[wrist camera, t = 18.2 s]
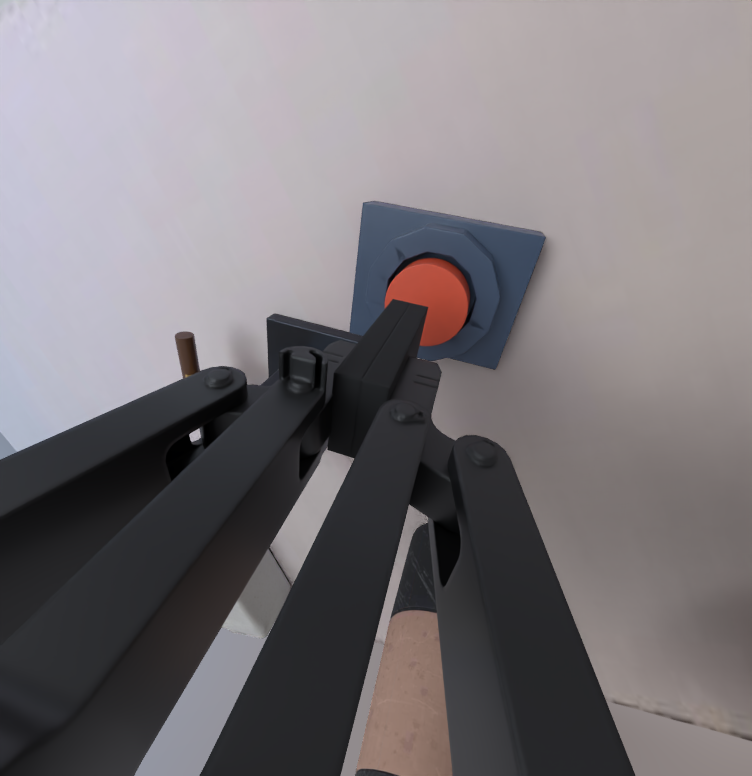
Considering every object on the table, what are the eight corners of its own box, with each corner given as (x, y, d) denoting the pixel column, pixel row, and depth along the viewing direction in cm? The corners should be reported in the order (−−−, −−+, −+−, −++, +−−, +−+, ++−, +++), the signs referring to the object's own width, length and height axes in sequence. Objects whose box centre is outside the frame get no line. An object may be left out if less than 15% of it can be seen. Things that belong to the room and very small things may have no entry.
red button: (480, 267, 18) (479, 274, 17) (458, 342, 20) (455, 355, 19) (399, 250, 19) (391, 255, 17) (386, 325, 21) (378, 335, 20)
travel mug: (402, 517, 35) (321, 816, 19) (480, 521, 32) (466, 877, 16) (418, 566, 38) (361, 857, 22) (490, 573, 35) (488, 913, 19)
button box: (541, 231, 20) (550, 242, 16) (495, 355, 24) (495, 383, 21) (373, 200, 21) (351, 204, 18) (359, 322, 26) (339, 343, 22)
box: (217, 456, 39) (56, 466, 51) (164, 511, 33) (-6, 508, 45) (297, 582, 49) (147, 566, 61) (269, 643, 43) (107, 611, 55)
